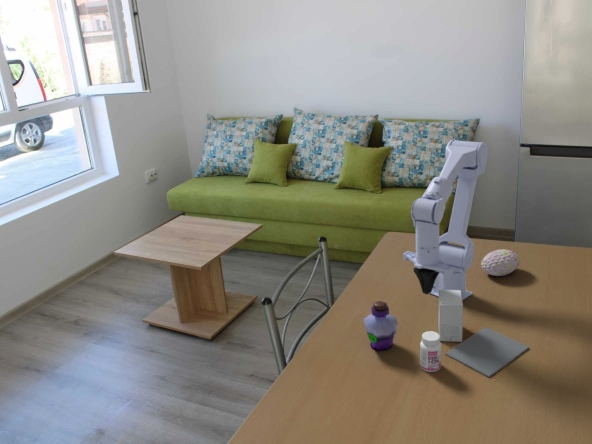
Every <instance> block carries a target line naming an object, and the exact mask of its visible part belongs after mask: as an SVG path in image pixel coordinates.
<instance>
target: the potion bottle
mask: <svg viewBox="0 0 592 444" xmlns="http://www.w3.org/2000/svg"><path fill="white" fill-rule="evenodd" d="M370 311H371V313H370V314H369V315H367V316H366V317H364V318H363V323H364V327H365V331H366V334H367V338H368V340H369V341H370V347H371V349H372V350H375V351H377V352H386V351H387V352H388V351H389V350H390V349H391V348H392V347H393V342H394V337H395V335H396V333H397V329H398V326H399V323H398V321H397V317H396V315H392V314H390V309H389V306H388V305H387V302H385V301H383V300H377V301H374V302H373V303H372V306H371V307H370Z"/></svg>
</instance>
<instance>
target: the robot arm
mask: <svg viewBox="0 0 592 444" xmlns="http://www.w3.org/2000/svg"><path fill="white" fill-rule="evenodd" d="M488 157H489V148H488V145H487V143H486V142H484V141H481V142H480V141H479V142H477V141H467V140H457V139H451V140H449V141H448V142H447V145H446V147H445V163H444V165H443V167H442V169H441V171H440V174H439V176H436V177H434V178H432V180H431V181H430V183H429V185H428V187H427V188H426V189H425V191H424V193H423V194H422V196H421V197H419V198H416V199H415V200H414V201H413V203H412V204H411V205H412V206H411V211H410V217H411V219H412V222H413V223H412V225H413V227H414V228H415V252H413V251H409V250H407V251H404V252H403V254H402V257H403V258H402V260H403V261H405V262H407V261H409V262H411V263H413V264H414V265H413V266H414V267H413V273H414V274H415V275H416V278H417V279H418V281H419V285H420V287H421V291H422V294H425V295H429V294H431V295H433V296H435V297H438V298H439V290H461V294H462V301H464V300H465V299H467V298H469V297H470V296H472V295H473V292H472V291H470V290H467V271H468V270H469V269H470V268H471V267H472V265H473V264H474V263H473V262H474V257H475V251H474V250H475V243H474V242H473V240H472V239H471V238H470V237H469V236H468V235H467V231H468V226H469V221H470V216H471V211H472V206H473V201H474V196H475V190H476V186H477V181H478V177H479V176H481V175H483V174H485V170H486V166H487V163H488V162H487V161H488ZM456 178H458V179H457V185H456V189H455V194H454V201H453V204H452V211H451V215H450V219H449V225H448V228H447V229H448V231H447V232H445V233H443V234H442V235H440V223H441V221H442V220H443V217H444V214H445V209H446V204H447V202H448V200H449V197H450V196H451V194H452V193H453V191H454V186H453V182H454V181H455V180H456Z"/></svg>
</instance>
